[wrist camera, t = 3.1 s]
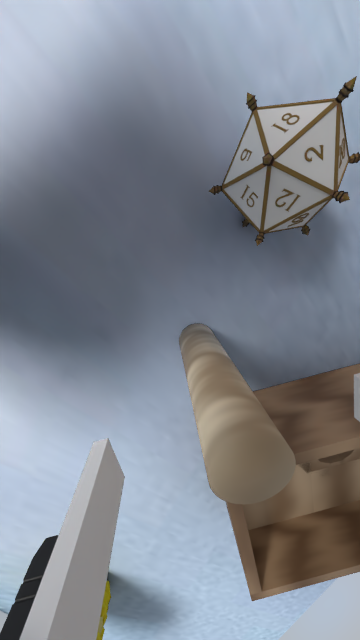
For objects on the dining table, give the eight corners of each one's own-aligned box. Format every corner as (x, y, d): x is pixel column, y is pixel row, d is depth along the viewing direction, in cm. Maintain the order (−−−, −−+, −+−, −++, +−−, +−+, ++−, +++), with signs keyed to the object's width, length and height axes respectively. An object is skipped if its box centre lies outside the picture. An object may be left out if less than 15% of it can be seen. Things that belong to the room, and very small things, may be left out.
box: (228, 512, 30) (252, 601, 22) (201, 405, 24) (219, 474, 17) (411, 463, 30) (496, 534, 23) (425, 346, 25) (544, 387, 17)
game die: (242, 178, 22) (335, 18, 12) (300, 242, 21) (444, 122, 12) (175, 209, 18) (239, 13, 9) (243, 287, 17) (389, 164, 8)
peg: (183, 360, 23) (217, 513, 9) (175, 328, 21) (199, 450, 8) (217, 351, 23) (298, 491, 9) (210, 319, 22) (291, 425, 8)
